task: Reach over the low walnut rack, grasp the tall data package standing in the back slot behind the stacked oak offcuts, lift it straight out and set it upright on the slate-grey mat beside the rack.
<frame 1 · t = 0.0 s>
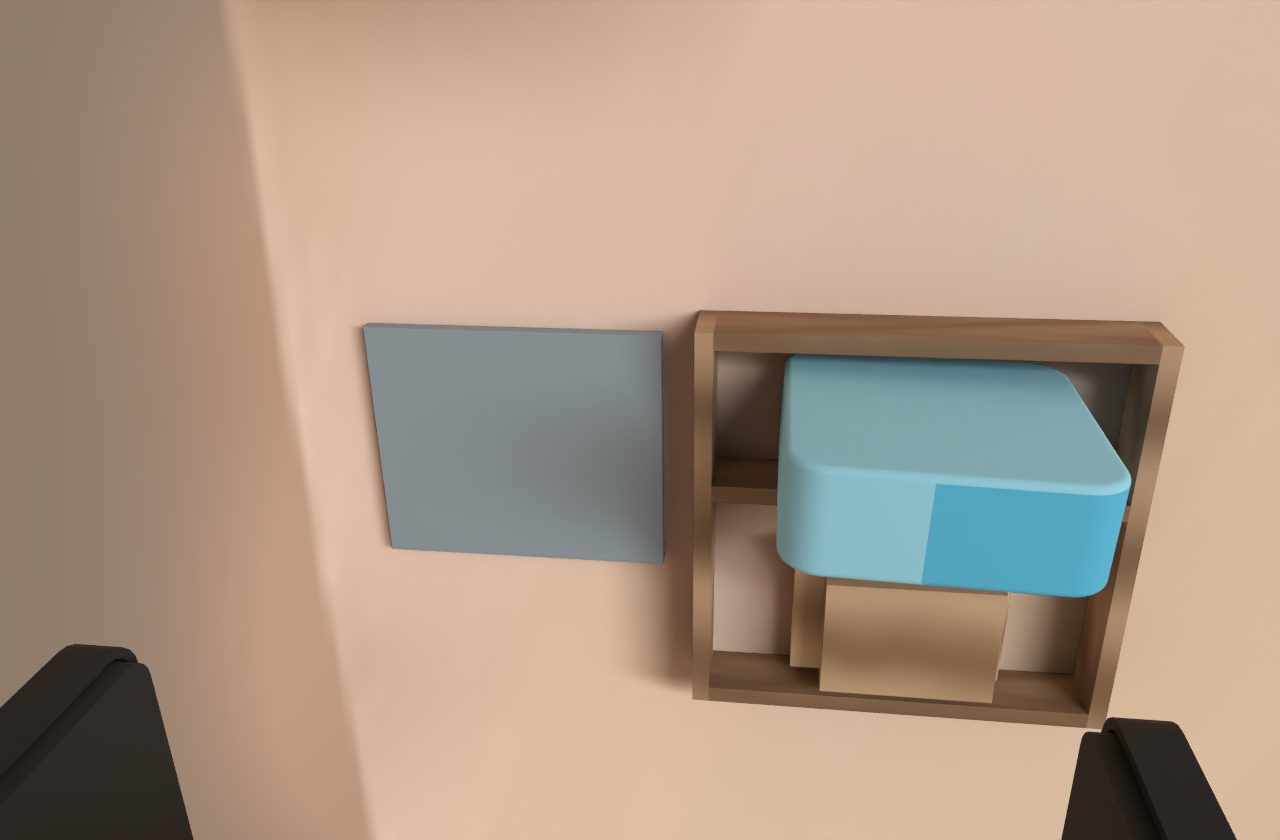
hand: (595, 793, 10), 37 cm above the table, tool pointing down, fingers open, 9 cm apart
mat: (520, 443, 51), on the table
rack: (905, 498, 49), on the table
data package: (914, 398, 47), resting in rack
offcut stack: (894, 591, 52), resting in rack
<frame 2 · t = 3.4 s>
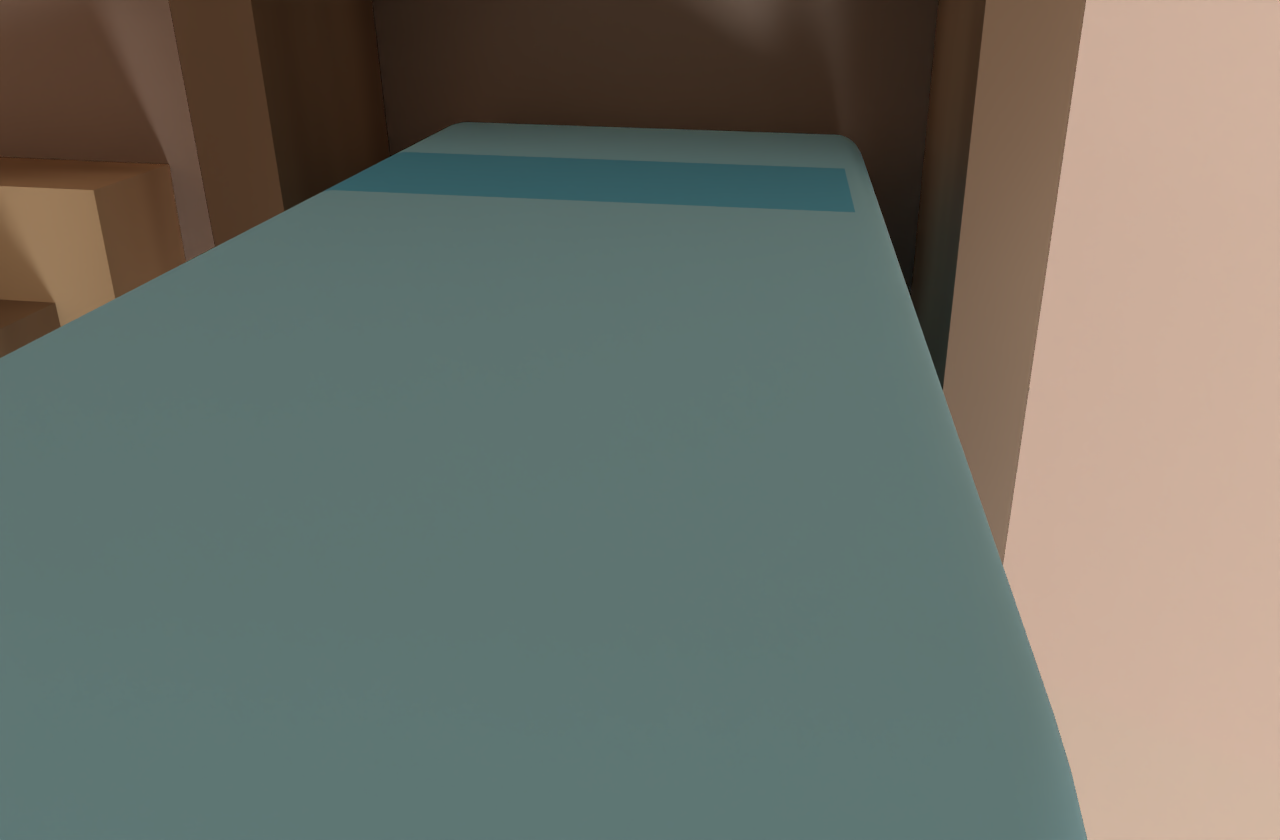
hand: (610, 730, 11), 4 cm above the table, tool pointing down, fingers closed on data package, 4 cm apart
rack: (318, 523, 15), on the table
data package: (655, 536, 15), resting in rack, touching gripper
offcut stack: (25, 474, 16), resting in rack
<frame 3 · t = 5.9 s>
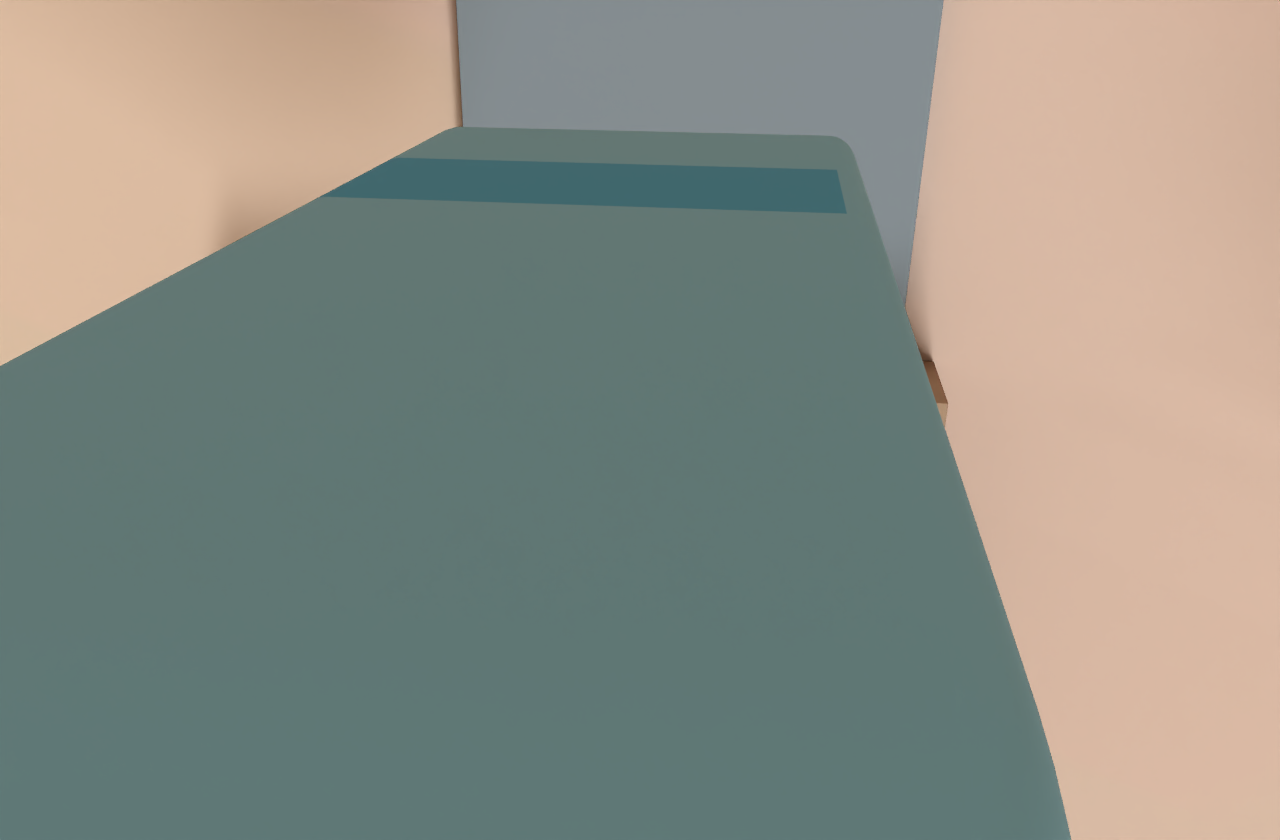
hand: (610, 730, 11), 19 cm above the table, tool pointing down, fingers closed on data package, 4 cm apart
mat: (694, 24, 26), on the table
rack: (613, 622, 34), on the table
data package: (654, 537, 15), point 15 cm above the table, touching gripper
when the fingers open (5 cm above the table, at t = 8.5 s): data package stays where it is, resting on mat.
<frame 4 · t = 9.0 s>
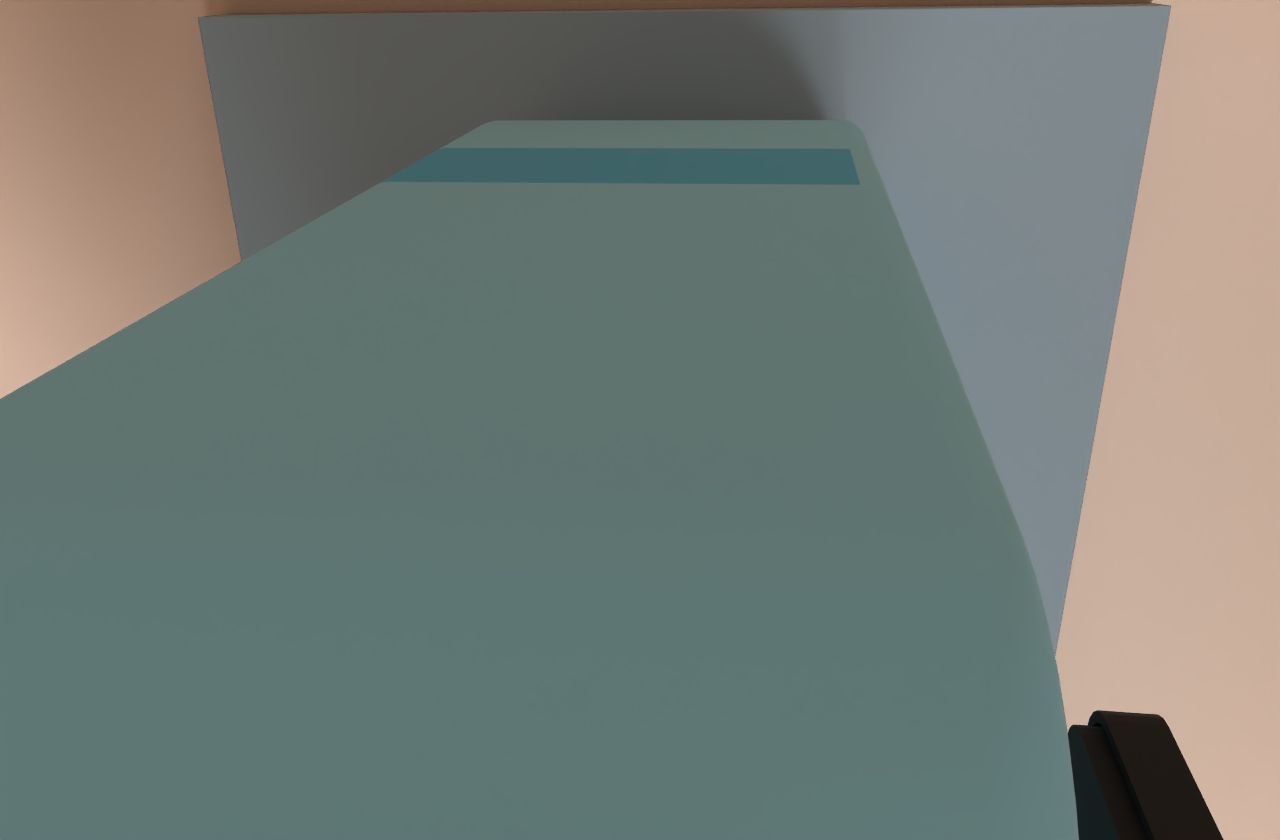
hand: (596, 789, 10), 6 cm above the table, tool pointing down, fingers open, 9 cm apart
mat: (665, 492, 16), on the table
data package: (681, 509, 16), resting on mat
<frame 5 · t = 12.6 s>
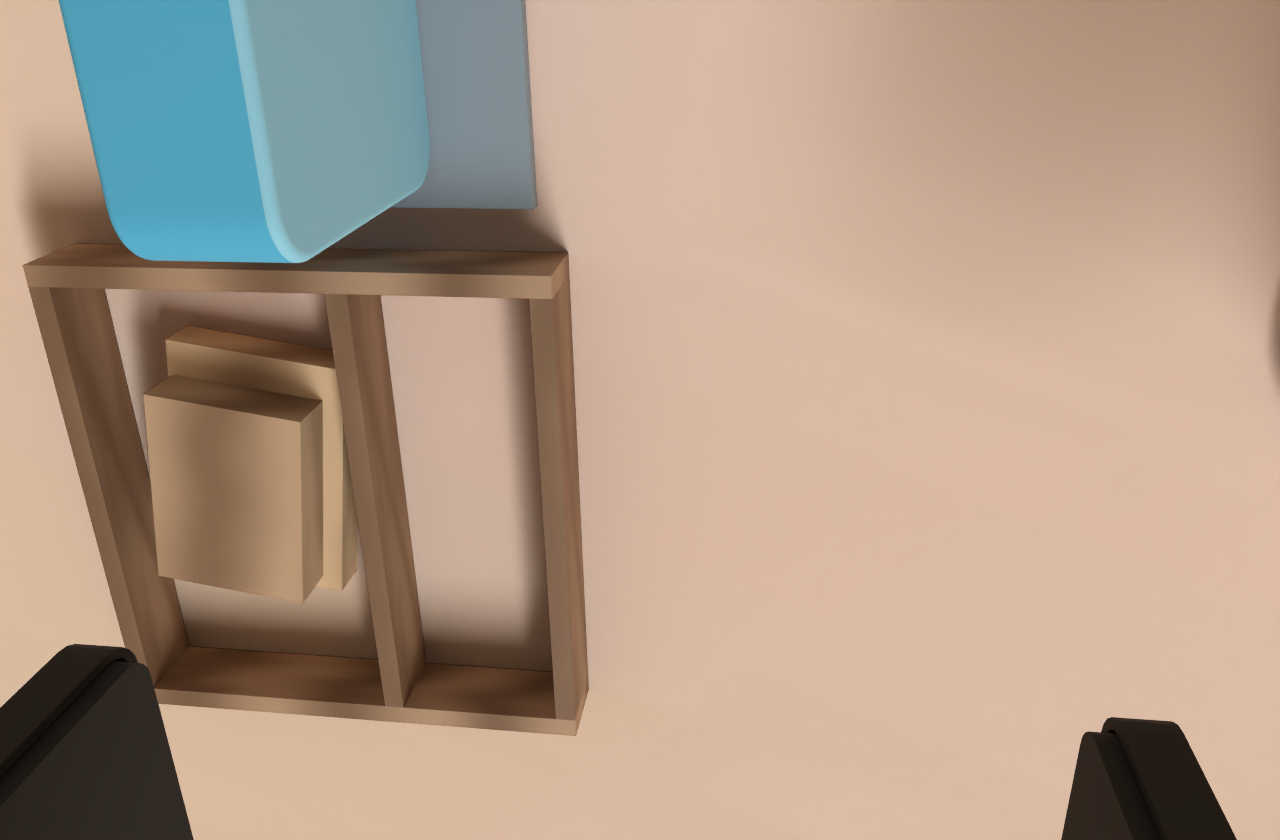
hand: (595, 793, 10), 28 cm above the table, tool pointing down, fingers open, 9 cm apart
rack: (362, 481, 43), on the table
offcut stack: (280, 449, 43), resting in rack
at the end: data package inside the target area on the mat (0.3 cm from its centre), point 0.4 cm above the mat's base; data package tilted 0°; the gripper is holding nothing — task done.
